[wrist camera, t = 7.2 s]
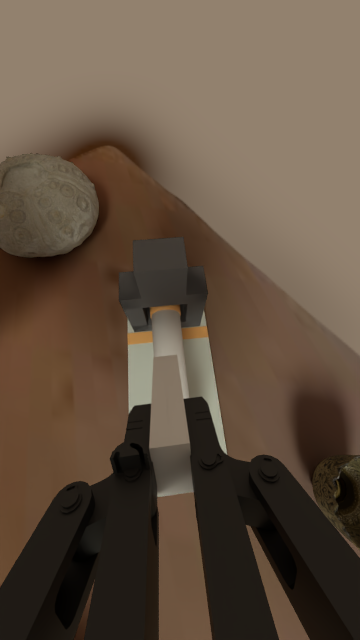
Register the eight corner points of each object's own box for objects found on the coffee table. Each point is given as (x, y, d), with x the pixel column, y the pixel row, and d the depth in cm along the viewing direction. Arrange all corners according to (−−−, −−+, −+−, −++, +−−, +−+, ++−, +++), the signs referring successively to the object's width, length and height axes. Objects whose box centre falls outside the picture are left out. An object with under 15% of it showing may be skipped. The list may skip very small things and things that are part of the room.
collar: (199, 326, 28) (214, 265, 17) (134, 332, 28) (105, 274, 17) (196, 304, 29) (208, 235, 18) (133, 309, 29) (107, 242, 18)
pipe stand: (226, 463, 27) (256, 490, 17) (131, 475, 26) (102, 510, 16) (198, 287, 36) (207, 235, 26) (128, 292, 36) (109, 242, 26)
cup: (290, 513, 25) (337, 552, 18) (293, 439, 28) (335, 446, 20) (361, 534, 24) (441, 584, 17) (357, 456, 27) (424, 469, 20)
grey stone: (86, 279, 37) (56, 232, 27) (-18, 262, 38) (-80, 212, 29) (118, 201, 44) (102, 143, 35) (29, 189, 45) (-9, 129, 36)
